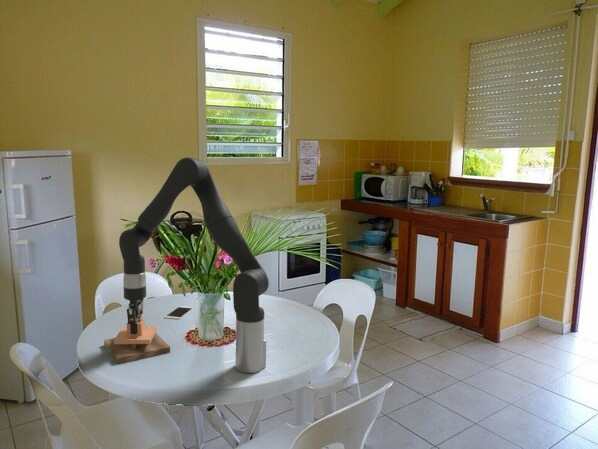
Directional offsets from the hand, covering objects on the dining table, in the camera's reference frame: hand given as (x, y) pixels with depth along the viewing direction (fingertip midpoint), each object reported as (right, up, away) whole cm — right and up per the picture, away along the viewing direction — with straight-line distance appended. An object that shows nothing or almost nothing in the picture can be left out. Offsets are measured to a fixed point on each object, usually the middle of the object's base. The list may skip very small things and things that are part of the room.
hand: (135, 330), depth 168 cm
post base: (0, -7, +1) cm, 7 cm away
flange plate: (0, -2, 0) cm, 2 cm away
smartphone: (+6, -2, +39) cm, 40 cm away
